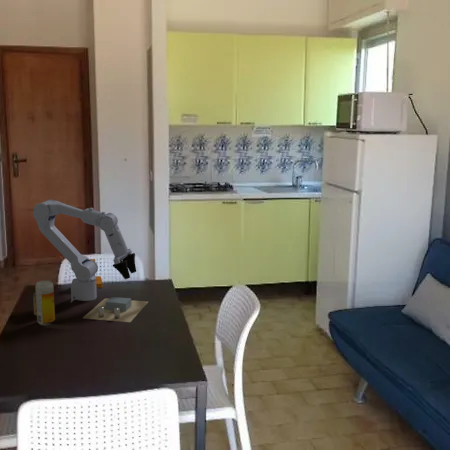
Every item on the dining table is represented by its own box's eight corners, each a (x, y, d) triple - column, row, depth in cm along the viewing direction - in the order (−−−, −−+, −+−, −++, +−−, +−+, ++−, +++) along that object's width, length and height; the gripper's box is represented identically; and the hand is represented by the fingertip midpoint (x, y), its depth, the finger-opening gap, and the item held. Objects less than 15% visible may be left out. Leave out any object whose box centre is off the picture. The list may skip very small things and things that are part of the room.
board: (82, 321, 205) (82, 318, 205) (105, 301, 226) (105, 298, 226) (130, 325, 202) (130, 322, 202) (148, 304, 224) (148, 301, 223)
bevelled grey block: (105, 309, 214) (105, 302, 213) (111, 304, 220) (111, 296, 219) (126, 311, 213) (125, 303, 212) (131, 305, 218) (131, 298, 218)
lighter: (32, 315, 210) (31, 290, 207) (35, 312, 213) (33, 286, 211) (52, 315, 210) (51, 289, 208) (54, 311, 214) (53, 286, 212)
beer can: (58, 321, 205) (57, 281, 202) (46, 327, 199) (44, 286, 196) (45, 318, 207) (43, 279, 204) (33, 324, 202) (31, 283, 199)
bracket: (103, 289, 241) (102, 262, 238) (85, 290, 239) (84, 263, 236) (100, 281, 251) (100, 255, 248) (83, 283, 249) (83, 256, 246)
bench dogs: (97, 317, 206) (97, 308, 205) (99, 315, 208) (99, 306, 207) (118, 319, 205) (118, 309, 204) (120, 317, 207) (120, 307, 206)
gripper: (120, 245, 212) (133, 278, 214) (132, 235, 226) (145, 266, 228) (103, 251, 214) (117, 283, 216) (117, 241, 228) (129, 272, 230)
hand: (130, 275), depth 222 cm, fingers open, 7 cm apart
